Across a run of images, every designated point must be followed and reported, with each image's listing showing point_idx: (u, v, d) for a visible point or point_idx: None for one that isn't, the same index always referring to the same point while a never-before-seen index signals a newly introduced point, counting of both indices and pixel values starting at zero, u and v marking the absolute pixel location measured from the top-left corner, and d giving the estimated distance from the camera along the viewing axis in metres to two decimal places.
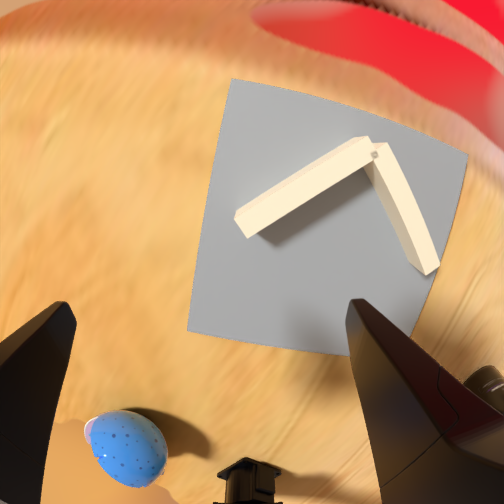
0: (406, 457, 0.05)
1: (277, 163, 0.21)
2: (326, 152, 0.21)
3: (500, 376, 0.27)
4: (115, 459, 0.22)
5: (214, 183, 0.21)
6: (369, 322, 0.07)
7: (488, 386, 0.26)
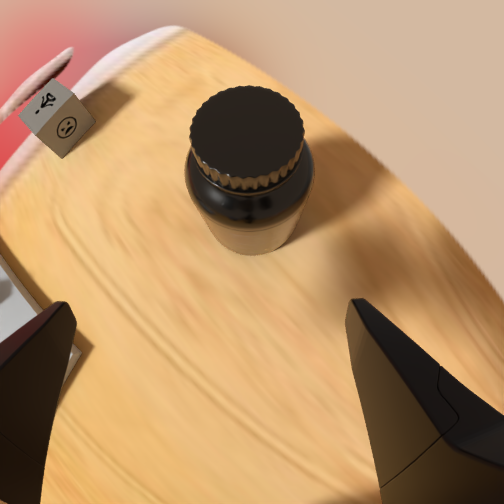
0: (406, 457, 0.05)
1: None
2: None
3: None
4: None
5: None
6: (369, 322, 0.07)
7: None
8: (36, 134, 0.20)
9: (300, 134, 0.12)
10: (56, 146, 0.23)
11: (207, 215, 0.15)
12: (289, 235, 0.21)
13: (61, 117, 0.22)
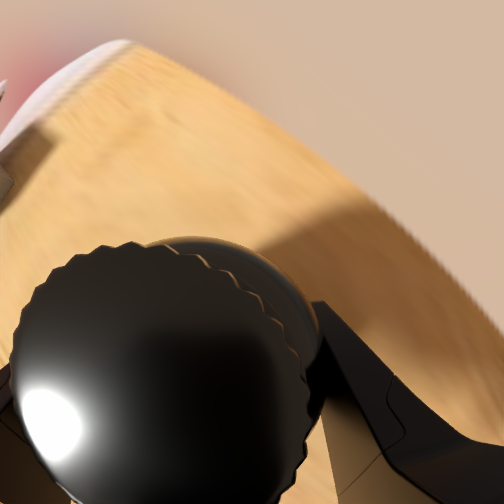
0: (355, 469, 0.05)
1: None
2: None
3: None
4: None
5: None
6: (324, 326, 0.07)
7: None
8: None
9: (298, 445, 0.03)
10: None
11: None
12: None
13: None
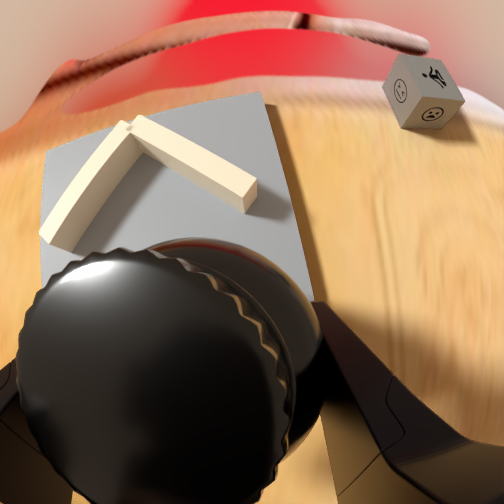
0: (354, 469, 0.05)
1: None
2: None
3: None
4: None
5: None
6: (323, 326, 0.07)
7: None
8: (423, 96, 0.19)
9: (276, 442, 0.03)
10: (413, 117, 0.22)
11: None
12: None
13: (442, 104, 0.20)
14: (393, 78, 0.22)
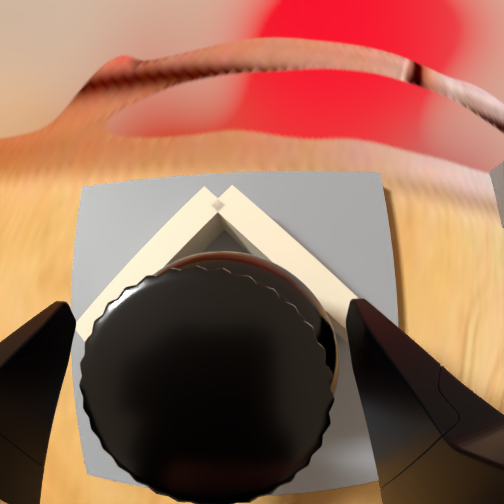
0: (407, 457, 0.05)
1: None
2: None
3: None
4: None
5: (74, 299, 0.17)
6: (370, 322, 0.07)
7: None
8: None
9: (324, 414, 0.05)
10: None
11: None
12: None
13: None
14: None
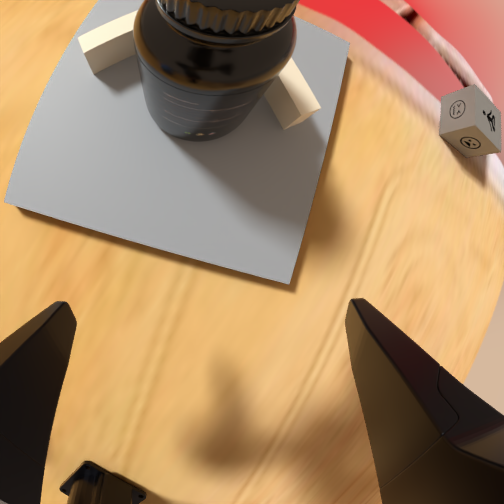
0: (406, 457, 0.05)
1: None
2: None
3: None
4: None
5: (75, 39, 0.15)
6: (369, 322, 0.07)
7: None
8: (475, 125, 0.20)
9: None
10: (455, 134, 0.23)
11: (144, 59, 0.09)
12: (232, 127, 0.17)
13: (483, 141, 0.22)
14: (457, 97, 0.23)
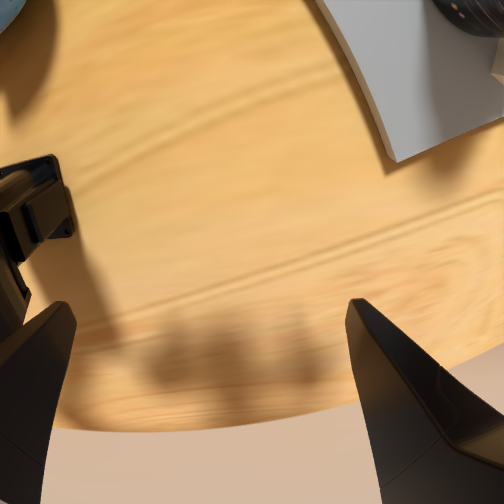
0: (406, 457, 0.05)
1: None
2: None
3: None
4: None
5: None
6: (369, 322, 0.07)
7: None
8: None
9: None
10: None
11: None
12: (474, 29, 0.10)
13: None
14: None
